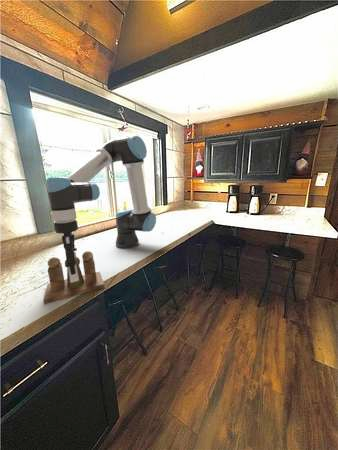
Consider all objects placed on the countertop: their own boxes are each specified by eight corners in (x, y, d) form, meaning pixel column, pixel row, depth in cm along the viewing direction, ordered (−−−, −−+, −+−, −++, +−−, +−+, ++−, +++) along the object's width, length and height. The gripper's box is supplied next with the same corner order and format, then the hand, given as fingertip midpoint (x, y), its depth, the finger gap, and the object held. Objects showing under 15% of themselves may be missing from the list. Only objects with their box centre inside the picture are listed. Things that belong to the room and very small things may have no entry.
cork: (86, 283, 72) (83, 257, 70) (70, 289, 68) (66, 262, 66) (80, 278, 76) (76, 253, 74) (65, 284, 72) (60, 258, 70)
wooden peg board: (100, 274, 82) (96, 245, 79) (104, 287, 72) (100, 254, 69) (48, 287, 73) (41, 254, 70) (44, 303, 63) (36, 266, 60)
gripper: (55, 216, 75) (64, 263, 80) (49, 229, 54) (62, 292, 59) (76, 214, 79) (83, 259, 84) (77, 226, 57) (87, 285, 62)
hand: (74, 273), depth 71 cm, fingers open, 13 cm apart
